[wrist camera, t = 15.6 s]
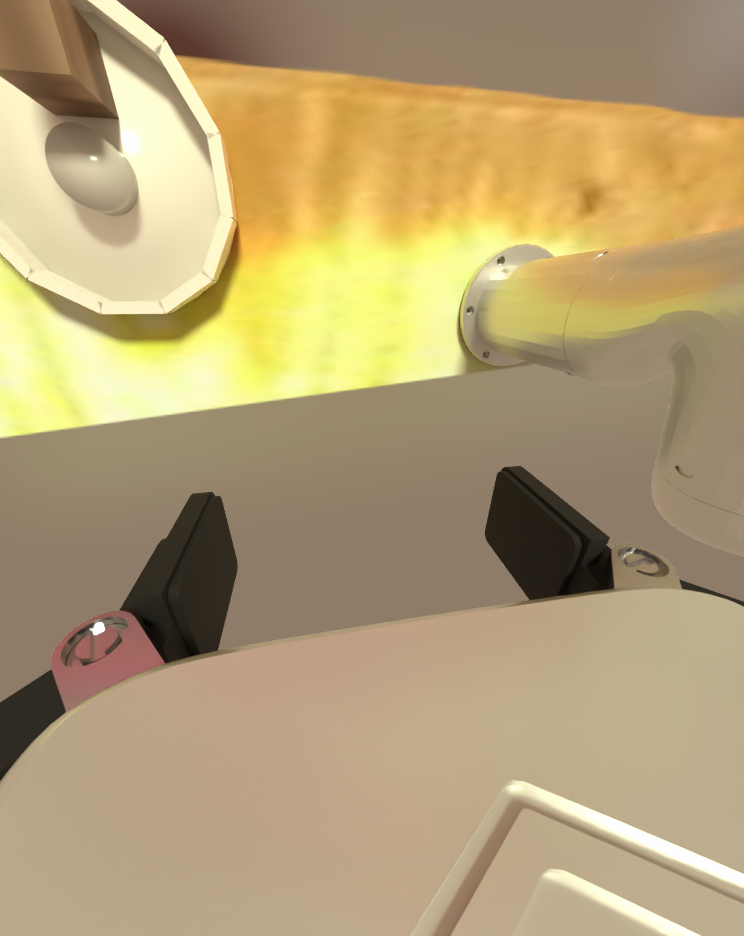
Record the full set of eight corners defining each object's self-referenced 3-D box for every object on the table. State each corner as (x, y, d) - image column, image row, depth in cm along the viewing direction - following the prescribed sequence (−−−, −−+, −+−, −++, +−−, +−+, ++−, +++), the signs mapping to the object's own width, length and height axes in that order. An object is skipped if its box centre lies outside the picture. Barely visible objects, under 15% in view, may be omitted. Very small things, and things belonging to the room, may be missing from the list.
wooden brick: (96, 34, 23) (36, -40, 18) (119, 119, 26) (71, 74, 20) (25, 27, 23) (-57, -52, 18) (55, 115, 25) (-11, 68, 20)
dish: (207, 16, 25) (194, -23, 22) (252, 311, 34) (247, 313, 31) (-118, -25, 21) (-187, -77, 18) (31, 313, 31) (1, 315, 28)
